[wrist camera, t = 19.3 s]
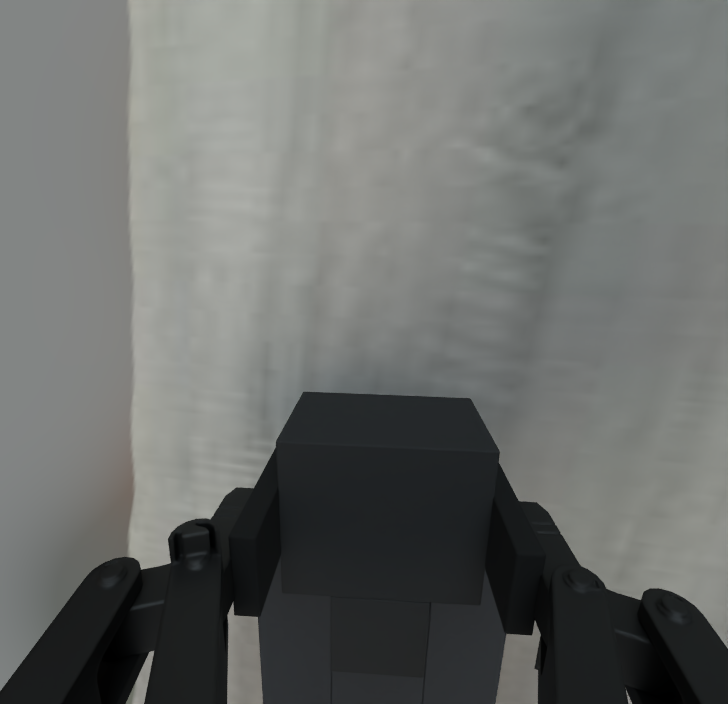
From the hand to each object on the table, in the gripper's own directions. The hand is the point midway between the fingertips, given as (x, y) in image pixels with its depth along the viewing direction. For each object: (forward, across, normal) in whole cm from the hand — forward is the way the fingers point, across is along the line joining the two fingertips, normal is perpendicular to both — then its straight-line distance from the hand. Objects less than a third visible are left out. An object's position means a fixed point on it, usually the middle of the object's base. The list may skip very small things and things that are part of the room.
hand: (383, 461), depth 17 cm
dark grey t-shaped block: (0, 0, -2) cm, 2 cm away
